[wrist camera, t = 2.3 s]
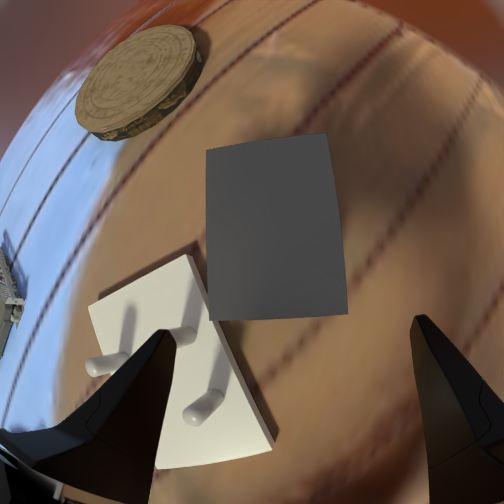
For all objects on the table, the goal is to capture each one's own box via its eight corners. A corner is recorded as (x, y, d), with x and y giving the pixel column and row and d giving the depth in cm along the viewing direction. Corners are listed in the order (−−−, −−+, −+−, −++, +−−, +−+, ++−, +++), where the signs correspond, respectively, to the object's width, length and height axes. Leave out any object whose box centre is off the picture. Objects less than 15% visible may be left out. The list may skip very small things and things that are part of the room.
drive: (329, 302, 19) (350, 313, 7) (277, 305, 20) (209, 320, 8) (323, 231, 20) (328, 132, 8) (272, 235, 21) (206, 150, 8)
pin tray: (274, 442, 18) (261, 478, 13) (163, 463, 20) (133, 489, 15) (192, 256, 22) (157, 244, 17) (96, 306, 24) (55, 306, 18)
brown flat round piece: (81, 162, 27) (64, 152, 24) (100, 71, 30) (88, 59, 27) (208, 113, 24) (196, 94, 21) (202, 25, 27) (194, 9, 24)
